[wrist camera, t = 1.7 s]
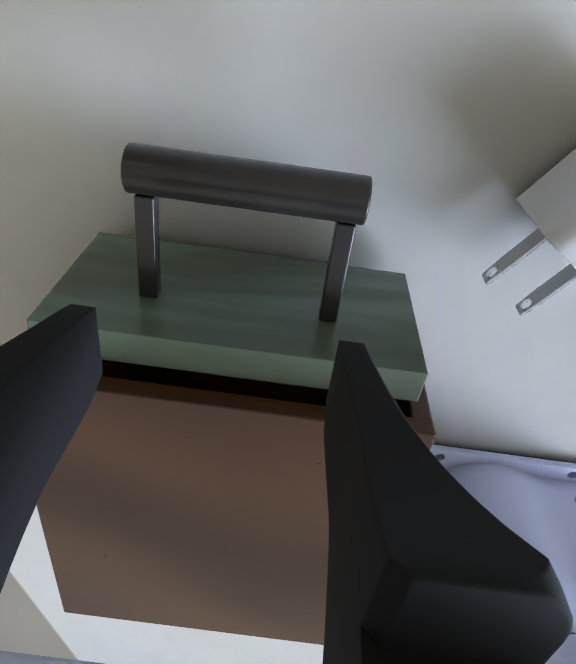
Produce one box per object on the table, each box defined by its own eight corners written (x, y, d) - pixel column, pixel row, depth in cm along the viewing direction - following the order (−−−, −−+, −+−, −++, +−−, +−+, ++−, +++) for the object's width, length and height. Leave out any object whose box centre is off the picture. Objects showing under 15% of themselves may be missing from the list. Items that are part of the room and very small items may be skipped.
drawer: (86, 99, 18) (-9, 156, 13) (440, 149, 18) (482, 224, 13) (122, 457, 29) (77, 565, 24) (344, 487, 29) (347, 599, 24)
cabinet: (96, 257, 23) (2, 378, 16) (407, 300, 23) (437, 435, 16) (119, 476, 31) (64, 612, 24) (346, 505, 31) (350, 648, 25)
